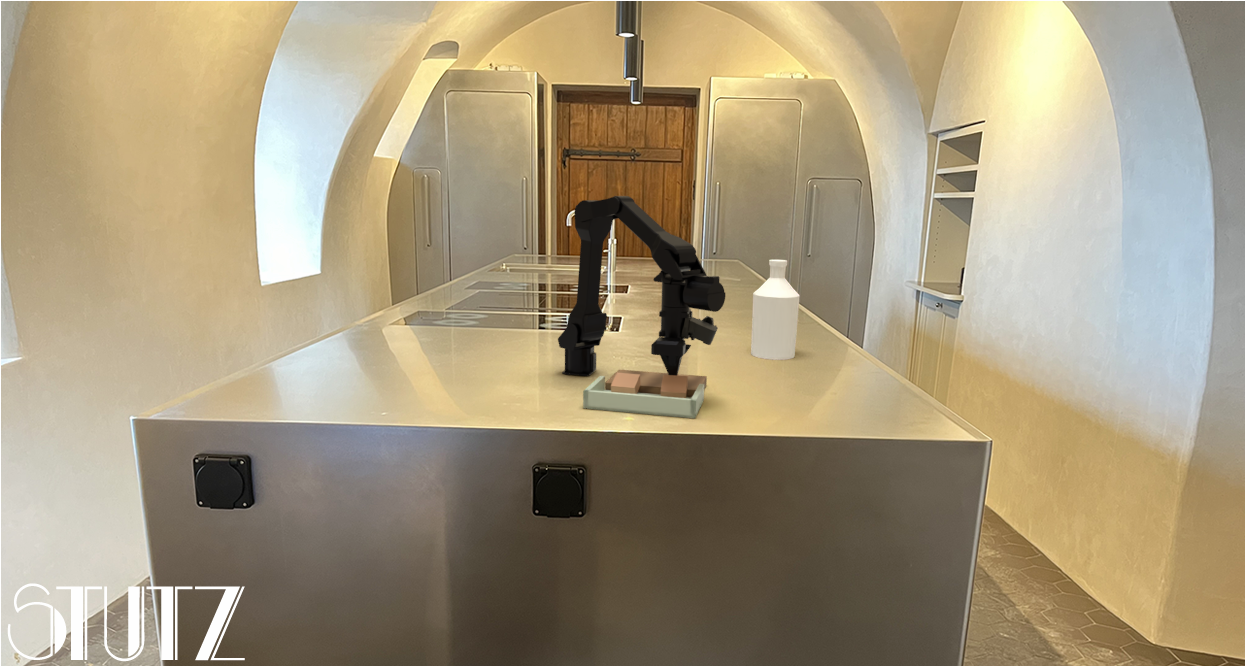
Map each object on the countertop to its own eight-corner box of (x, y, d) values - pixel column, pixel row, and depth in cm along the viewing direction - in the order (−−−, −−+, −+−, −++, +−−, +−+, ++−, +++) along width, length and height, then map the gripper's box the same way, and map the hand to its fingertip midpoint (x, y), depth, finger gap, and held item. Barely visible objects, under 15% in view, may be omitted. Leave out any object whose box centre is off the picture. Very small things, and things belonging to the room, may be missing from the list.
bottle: (800, 360, 186) (806, 263, 181) (753, 359, 186) (759, 262, 181) (790, 350, 197) (796, 258, 192) (746, 349, 197) (751, 257, 193)
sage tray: (583, 408, 141) (583, 390, 141) (600, 391, 153) (600, 375, 152) (695, 418, 136) (695, 400, 136) (703, 400, 148) (704, 384, 147)
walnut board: (605, 391, 153) (605, 382, 153) (618, 378, 165) (619, 369, 164) (699, 399, 149) (699, 390, 148) (706, 385, 160) (706, 376, 160)
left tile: (611, 395, 148) (610, 385, 147) (617, 382, 152) (616, 372, 151) (635, 398, 147) (634, 387, 146) (640, 384, 151) (640, 374, 150)
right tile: (660, 400, 146) (660, 391, 144) (663, 383, 150) (663, 374, 148) (685, 402, 145) (685, 392, 143) (687, 385, 149) (687, 376, 147)
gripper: (710, 315, 135) (707, 395, 138) (720, 300, 153) (717, 372, 156) (651, 312, 138) (649, 391, 141) (668, 298, 155) (666, 368, 159)
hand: (673, 380), depth 149 cm, fingers closed
